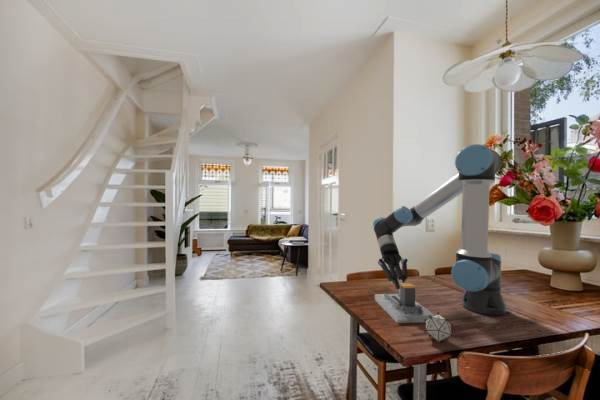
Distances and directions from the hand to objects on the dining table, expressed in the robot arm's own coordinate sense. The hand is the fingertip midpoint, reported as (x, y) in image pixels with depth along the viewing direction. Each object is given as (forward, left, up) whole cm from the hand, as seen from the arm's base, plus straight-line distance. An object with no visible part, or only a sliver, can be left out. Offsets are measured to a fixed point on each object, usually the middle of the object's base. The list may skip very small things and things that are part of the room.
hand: (403, 296), depth 111 cm
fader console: (+2, -1, -6) cm, 6 cm away
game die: (-20, +11, -6) cm, 24 cm away
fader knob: (-3, +2, -3) cm, 5 cm away
